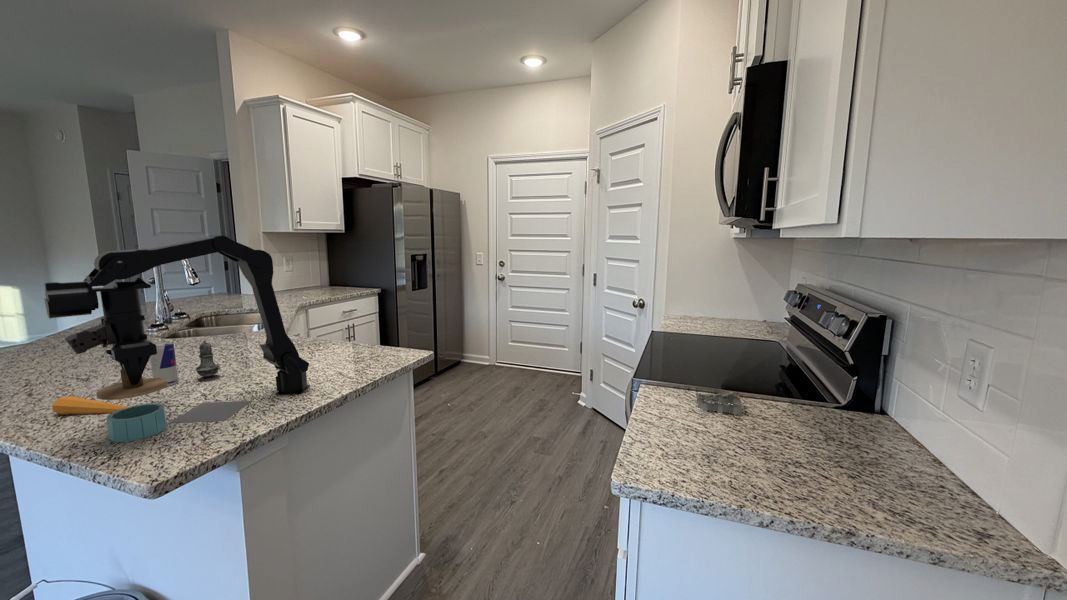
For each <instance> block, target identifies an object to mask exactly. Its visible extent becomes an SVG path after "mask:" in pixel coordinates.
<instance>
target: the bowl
mask: <svg viewBox="0 0 1067 600" xmlns="http://www.w3.org/2000/svg"><path fill="white" fill-rule="evenodd" d="M105 420H106V425H107V427H106V428H107V432H108V433H107V434H108V439H109V441H112V442H114V443H125V442H126V443H127V442H134V441H138V440H143V439H146V438H149V437H152V436H154V435H158V434H159V433H161V432H163V431H164V430H166V429H167V427H168V421H167V413H166V405H165V404H162V403H156V402H154V403H144V404H142V403H141V404H139V405H138V404H137V405H132V406H128V408H124V409H121V410H118V411H116V412H113V413H108V415H107V417H106V419H105Z"/></svg>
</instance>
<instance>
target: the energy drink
mask: <svg viewBox="0 0 1067 600" xmlns="http://www.w3.org/2000/svg"><path fill="white" fill-rule="evenodd" d="M154 344H155V345H156V348H157V354H155V355H151V356H150V358H149V360H150V364H151V365H150V366H151V372H152V378H163V379H166V380H167V383H168V385H167V386H166V387H171V386H173V385H174V386H175V385H176V384H178V383H179V375H178V369H177V360H176V351H175V345H174V343H173V342H172V341H163V342H162V341H161V342H155V343H154Z"/></svg>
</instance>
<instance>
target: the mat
mask: <svg viewBox="0 0 1067 600" xmlns="http://www.w3.org/2000/svg"><path fill="white" fill-rule="evenodd" d="M251 403H253V400H242V401H241V400H240V401H239V400H238V401H237V400H236V401H212V402H210V401H209V402H201V403H200V404H197V406H195V407H193V408H191V409H189V410H187V411H185V412H184V413H183V414H181V415H179V416H177V417H176V418H174V419H173V420H171V421H169V422H168V424H183V423H204V422H205V423H206V422H207V423H210V422H226V421H227V420H228V419H230V418H231V417H232V416H234V415H235V414H237V413H238V412H240V411H241V410H242V409H244V408H246V407H247V406H248V405H249V404H251Z"/></svg>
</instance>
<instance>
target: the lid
mask: <svg viewBox="0 0 1067 600" xmlns="http://www.w3.org/2000/svg"><path fill="white" fill-rule="evenodd" d="M120 379H121V382H118V383H114V384H111V385H108V386H104V387H103V388H101V389H99V390H98V391H96V393H95V394H96V398H97V399H98V400H102V401H103V400H104V401H113V400H124V399H131V398H137V397H141V396H146V395H149V394H153V393H156V392H158V391H161V390H163V389H165V388H166V387H168V386H167V385H168V383H167V380H166V379H163V378H153V377H149V378H148V377H147V378H143V375H142V376H141V379H140V381H139V383H138V384H137V385H131V384H130V382H129V379H128V377H127V374H126V372H125V370H124V368H123V369H122V368H120Z"/></svg>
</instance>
